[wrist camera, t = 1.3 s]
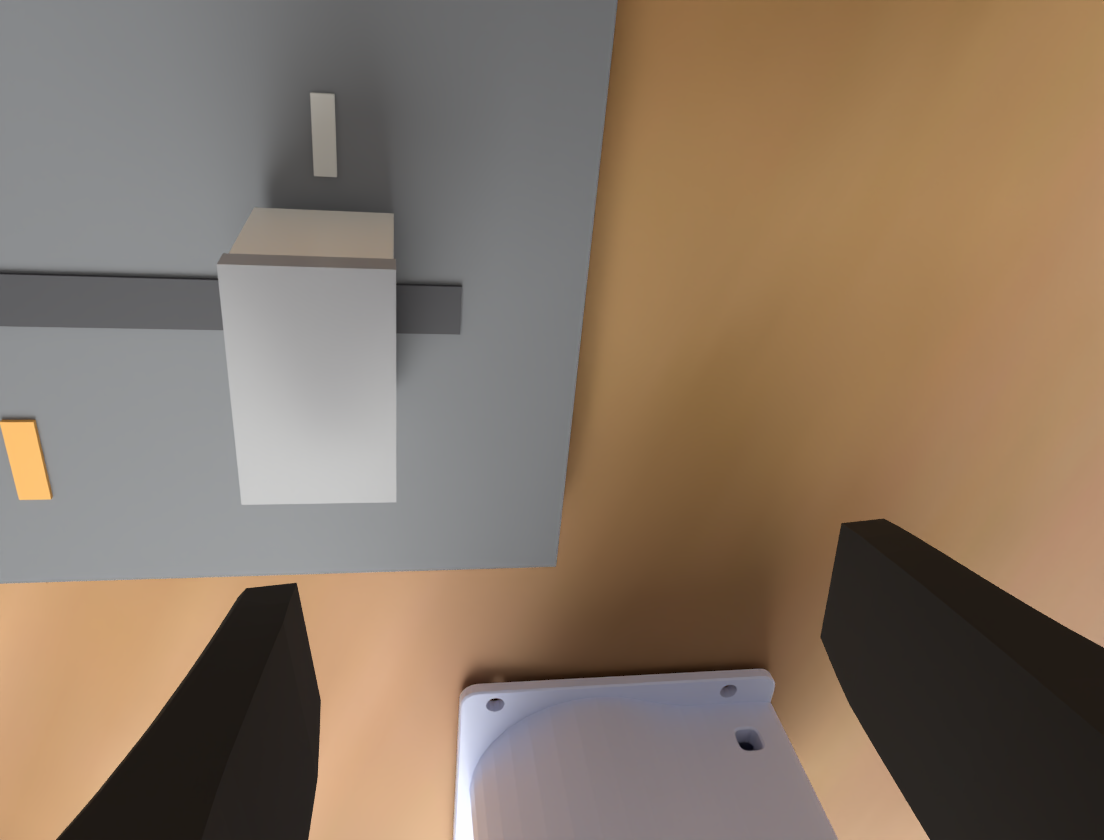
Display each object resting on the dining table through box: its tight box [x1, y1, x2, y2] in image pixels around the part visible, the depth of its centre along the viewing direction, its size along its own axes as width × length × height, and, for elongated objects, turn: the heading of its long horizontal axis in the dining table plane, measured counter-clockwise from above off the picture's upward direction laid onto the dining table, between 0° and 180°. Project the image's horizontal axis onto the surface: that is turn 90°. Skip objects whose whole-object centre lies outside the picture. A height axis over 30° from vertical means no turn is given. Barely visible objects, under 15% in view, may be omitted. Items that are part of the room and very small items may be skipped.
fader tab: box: [217, 207, 396, 505], centre depth 15 cm, size 2×4×3 cm, turn 175°
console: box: [0, 0, 618, 584], centre depth 17 cm, size 18×13×2 cm
